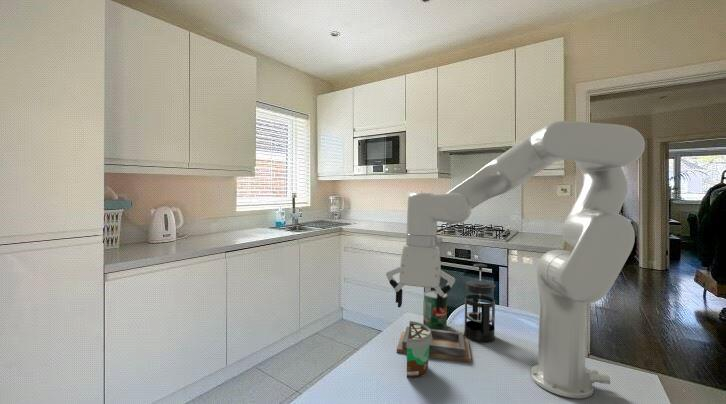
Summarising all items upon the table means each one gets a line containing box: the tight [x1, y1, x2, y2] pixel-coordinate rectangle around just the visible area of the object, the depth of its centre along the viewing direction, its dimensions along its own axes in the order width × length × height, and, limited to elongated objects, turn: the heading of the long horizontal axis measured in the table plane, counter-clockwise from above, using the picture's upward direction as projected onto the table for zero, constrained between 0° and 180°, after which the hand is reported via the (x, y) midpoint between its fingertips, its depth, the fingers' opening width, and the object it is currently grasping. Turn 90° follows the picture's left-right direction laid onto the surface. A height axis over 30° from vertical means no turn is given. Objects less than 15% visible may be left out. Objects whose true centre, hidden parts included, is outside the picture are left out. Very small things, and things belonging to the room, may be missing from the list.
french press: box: [463, 263, 496, 344], centre depth 99 cm, size 12×9×23 cm
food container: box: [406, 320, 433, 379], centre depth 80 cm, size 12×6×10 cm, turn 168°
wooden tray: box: [396, 326, 472, 363], centre depth 92 cm, size 20×12×3 cm, turn 76°
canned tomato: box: [422, 290, 448, 331], centre depth 108 cm, size 8×8×11 cm
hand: (418, 308), depth 80 cm, fingers open, 9 cm apart
